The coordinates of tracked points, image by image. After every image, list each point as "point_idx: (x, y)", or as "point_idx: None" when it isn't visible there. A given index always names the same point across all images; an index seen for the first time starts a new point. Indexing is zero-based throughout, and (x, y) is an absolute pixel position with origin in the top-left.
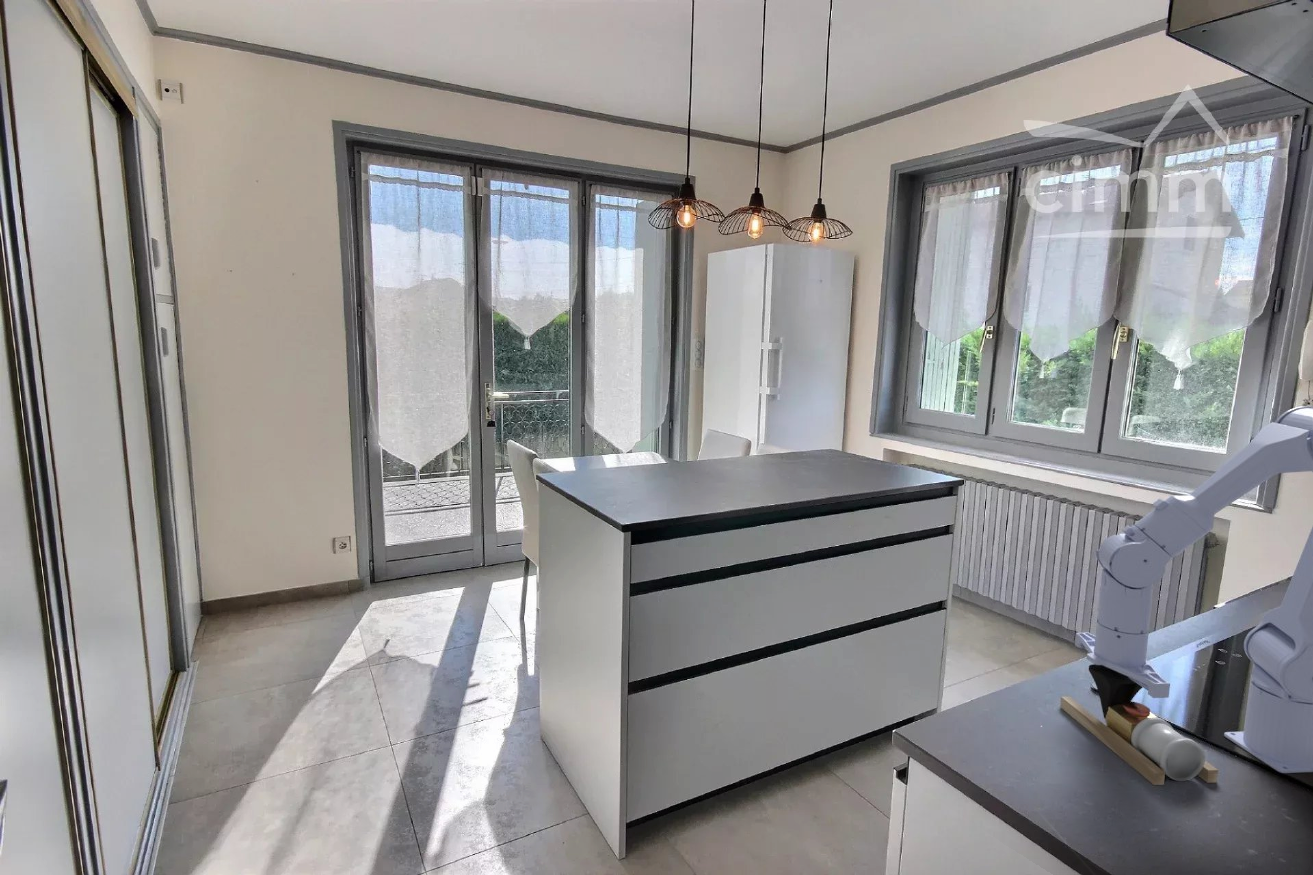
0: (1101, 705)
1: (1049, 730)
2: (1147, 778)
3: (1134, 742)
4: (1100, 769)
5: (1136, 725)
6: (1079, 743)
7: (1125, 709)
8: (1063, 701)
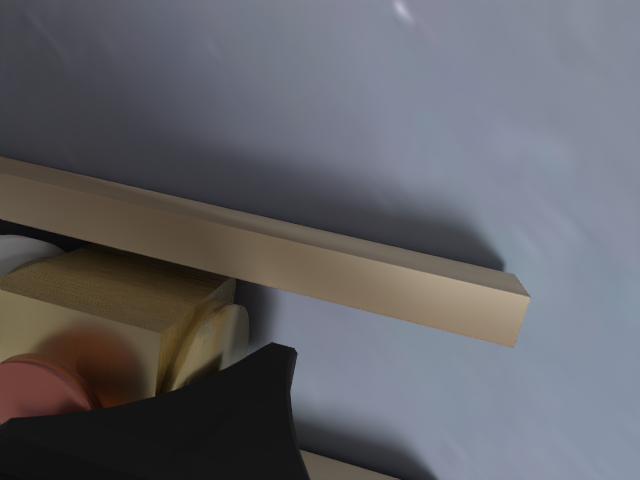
0: (288, 372)
1: (350, 23)
2: None
3: (9, 237)
4: (35, 12)
5: None
6: (217, 89)
7: (49, 362)
8: (497, 282)
